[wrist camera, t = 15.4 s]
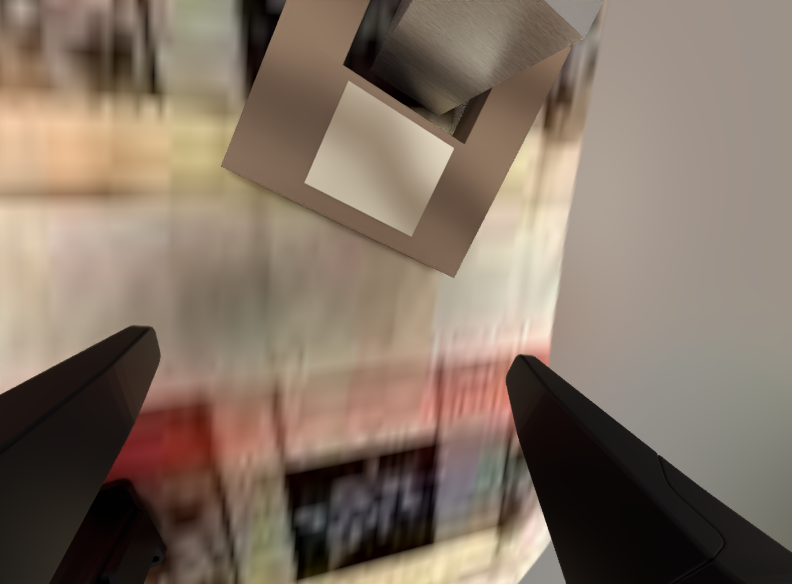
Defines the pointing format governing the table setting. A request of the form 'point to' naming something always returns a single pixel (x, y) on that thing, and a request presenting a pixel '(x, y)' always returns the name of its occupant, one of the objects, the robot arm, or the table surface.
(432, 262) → the hole board
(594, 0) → the steel peg
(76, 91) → the table surface
